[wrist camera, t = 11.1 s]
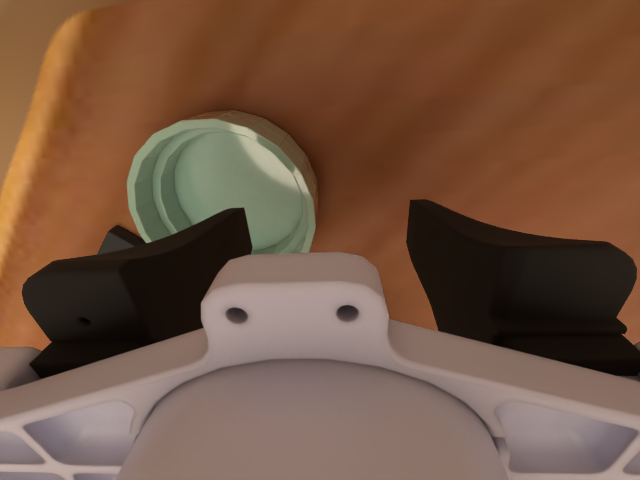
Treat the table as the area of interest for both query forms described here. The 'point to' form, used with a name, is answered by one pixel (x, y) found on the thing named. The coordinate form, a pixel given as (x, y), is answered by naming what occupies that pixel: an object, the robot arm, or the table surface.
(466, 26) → the table surface
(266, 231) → the bowl
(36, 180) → the table surface
